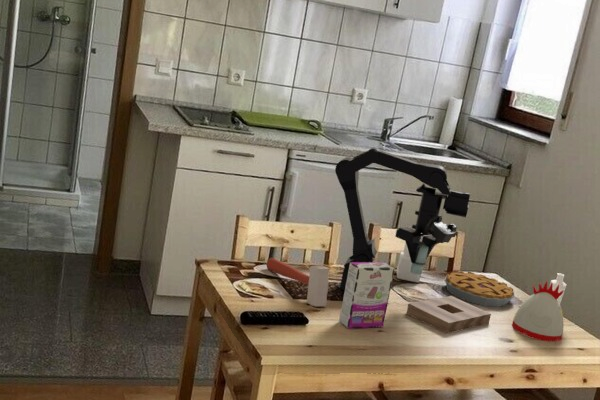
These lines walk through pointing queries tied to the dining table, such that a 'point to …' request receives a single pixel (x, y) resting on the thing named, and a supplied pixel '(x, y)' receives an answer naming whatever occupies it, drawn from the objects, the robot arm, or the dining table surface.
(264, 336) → the dining table surface
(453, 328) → the socket board
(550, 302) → the kitchen timer
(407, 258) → the medicine bottle
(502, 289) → the pie
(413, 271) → the stepped peg
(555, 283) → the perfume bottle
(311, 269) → the mallet
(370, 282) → the candy bar box
